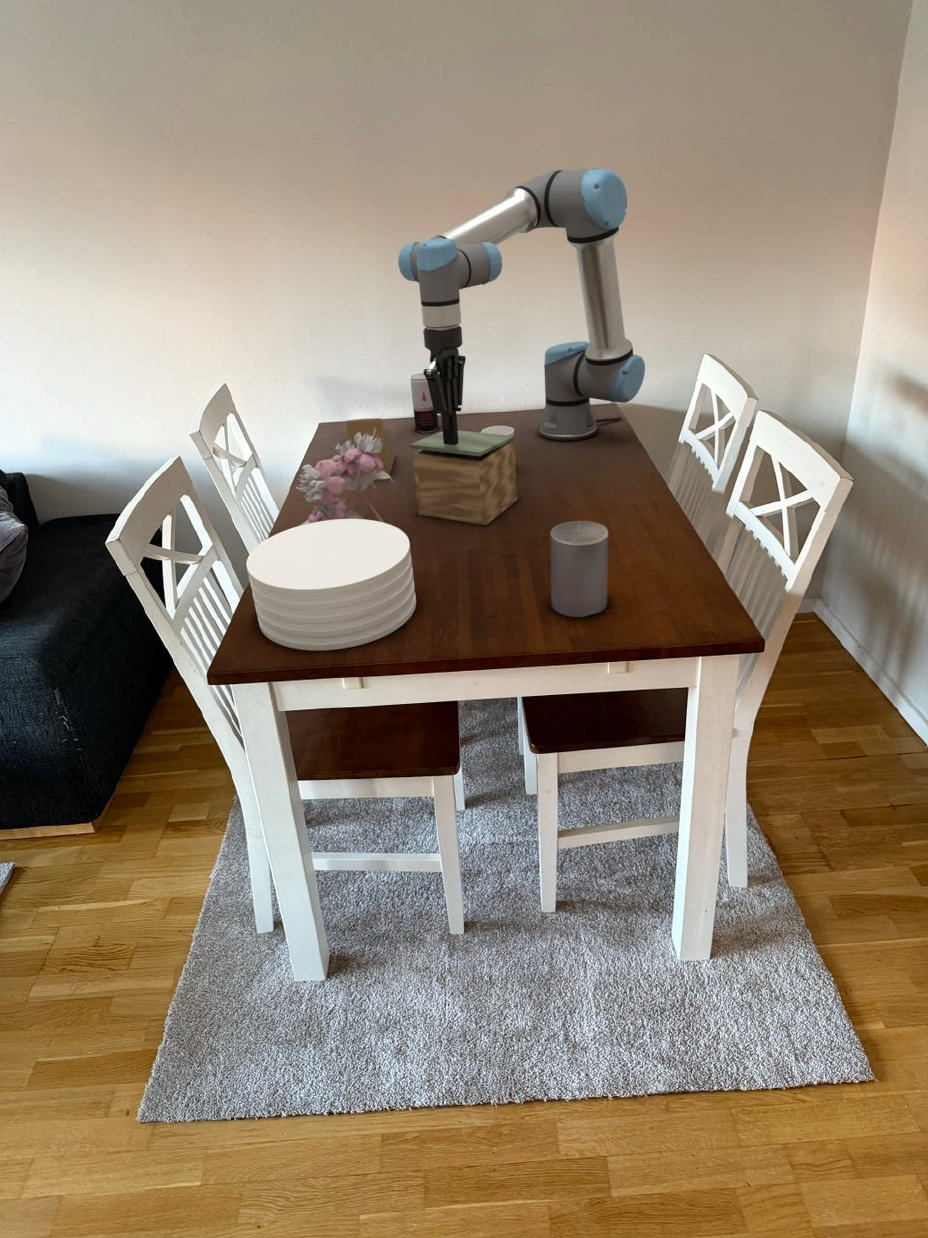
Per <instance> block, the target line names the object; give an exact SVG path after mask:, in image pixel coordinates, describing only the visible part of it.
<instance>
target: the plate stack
mask: <svg viewBox="0 0 928 1238" xmlns="http://www.w3.org/2000/svg"><path fill="white" fill-rule="evenodd" d="M300 525H301V524H300ZM300 525H297V526H294V527H292V528H291V527H290V528H287V529H286V530H282V531H281V532H278V533H276V534H274V535H272V536H270V537H268V538H266V539H265V540H263V541H261V542H260V543H259V544H258V545H257V546H255V547H254V548H253V549H252V550H251V552H250V553H249V555H248V557H247V559H246V569H247V570H246V571H247V574H248V575H247V576H248V578H249V579H248V580H249V584H250V585H249V586H250V588H251V591H252V592H251V594H252V599H253V602H254V607H255V611H256V616H257V621H258V627H259V629H260V631H261V632H262V634H263V635H264V636H265V637H266V638H267V639H269V640H270V641H272V642H274V643H276V644H278V645H281V646H283V647H287V648H291V649H295V650H301V651H315V652H316V651H317V652H319V651H334V650H343V649H348V648H354V647H358V646H361V645H365V644H369V643H371V642H374V641H377V640H379V639H381V638H384V637H386V636H388V635H390V634H392V633H393V632H395V631H396V630H398V629H400V628H401V627H402V626H403V625H404V624H406V623H407V622H408V621H409V619H410V618H412V616H413V614H414V612H415V610H416V606H417V597H416V596H417V595H416V591H415V590H416V587H415V581H414V569H413V561H412V554H411V543H410V539H409V537H408V535H407V534H406V533H405V532H404V531H403V530H401V529H400V528H399V527H397V526H394V525H393V524H390V523H387V522H384V523H383V522H379V521H378V520H372V519H365V518H364V519H360V518H358V519H336V520H326V521H320V522H314V523H309V524H305V525H301V526H300Z"/></svg>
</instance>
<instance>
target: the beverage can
mask: <svg viewBox="0 0 928 1238" xmlns="http://www.w3.org/2000/svg"><path fill="white" fill-rule="evenodd" d="M410 388H411V397H412V407H413V418H414V419H413V420H414V427H415V428H414V430H415V431H417V432H418V433H421V434H427V433H428V434H429V433H434V432H436V431H437V430H438V429H439V414H437V413H434V409H433V405H432V400H431V396H430V391H429V387H428V382H427V379H426V377H425V375H424V372H423V373H415V374H413V375H411V376H410Z"/></svg>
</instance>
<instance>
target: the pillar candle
mask: <svg viewBox="0 0 928 1238" xmlns="http://www.w3.org/2000/svg"><path fill="white" fill-rule="evenodd" d="M549 536H550V603H551V608H552V609H553V610H554V611H555V612H556V613H558V614H561V615H563V616H567V617H571V618H585V617H588V616H592V615H596V614H598V613H601V612H604V610H605V609H606V608H607V606H608V589H609V585H608V584H609V578H608V577H609V567H608V566H609V529H608V528H607V527H606V526H605V525H603V524H601V523H598V522H595V521H590V520H573V521H566V522H561V523H560V524H557V525H555V526H554V527H553V528H552V529H550V534H549Z"/></svg>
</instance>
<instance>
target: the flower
mask: <svg viewBox="0 0 928 1238" xmlns="http://www.w3.org/2000/svg"><path fill="white" fill-rule="evenodd" d="M375 431H376V428H374V434H375ZM374 434H373V436H371V437H370V435H369V436H368V434H366V433H365V435H364V436H363V438H362V437H361V433H360V432H359V433H357V434H356V435H355V436H354V441H355V442H356V444H357V447H356V448H354V444H353V445H352V447H351V439H350V440H349V439H348V440H347V441H345V442H344V443H342V446H341V444H340V443H339V442H338V443H337V444H336V446H335V448H334V449H335V451H336V452H337V453H338V454H335V455H333V457H332V458H328V459H322V460H320V461H318V462H317V463H316V465H315V467H313V466H312V465H311V464H309V463H308V464H304V465H303V466H302V467H301V469H302V470H303V471H301V474H299V475H298V477H300V478H296V480H297V481H299V482H300V485H298V486H295V489H297V490H298V492H303V493H305V495H304V496H303V497H304V499H305V501H307V502H309V503H316V501H317V500H318V501H319V502H318V505H313V510H311V513H310V514H309V516H308V518H307V520H305V521H304V522H302V523H301V524H300V525H299V526H301V525H305V524H309V523H314V522H320V521H326V520H336V519H365V518H364V517H363V516H361V515H360V514H359V513H357V512H356V511H355V510H353V509H350V510H348V511H347V505H346V504H347V502H350V500H348V499H344V500H341V498H340V497H335V495H342V494H343V493H344V492H345V491H346V490H348V491H353V492H355V493H356V495H357V496H358V497H359V498H360V499H361V500H362V502H363V503H364V504H365V505H366V507H367V508H368V510H369V511H370V512H371V514H372V515H373V516H374V517H375V519H376V521H379V522H383V523H385V521H384V519H382V517H381V516H380V515H379V513H378V512H377V510H376V509H375V508H374V507H373V506H372V504H371V502H370V501H369V499H368V497H367V496H366V494H365V493H364V491H365V490H367V488H369V487H370V486H371V487H372V488H373V489H375V490H376V489H377V487H376V485H375V483H374V482H375V481H379V480H380V481H381V480H382V481H383V480H389V481H390V482H394V480H393V479H392V477H391V475H390V474H389V475H388V474H387V473H385V472H384V471H382V470H383V464H382V462H381V460H380V459H379V457H377V456H375V455H373V454H374V453H380V452H381V450H382V446H383V444H382V443H381V442H382V441H380V439H381V438H379V439H377V437H378V435H377V437H376V438H375V439H374ZM373 439H374V440H373ZM376 440H377V441H378V442H377V441H376ZM375 466H377V467H376V471H374V472H371V473H369V474H366V475H364V476H361V473H364V471H365V472H370V471H372V470H374V468H375ZM332 474H334V475H336V476H331V475H332Z"/></svg>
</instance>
